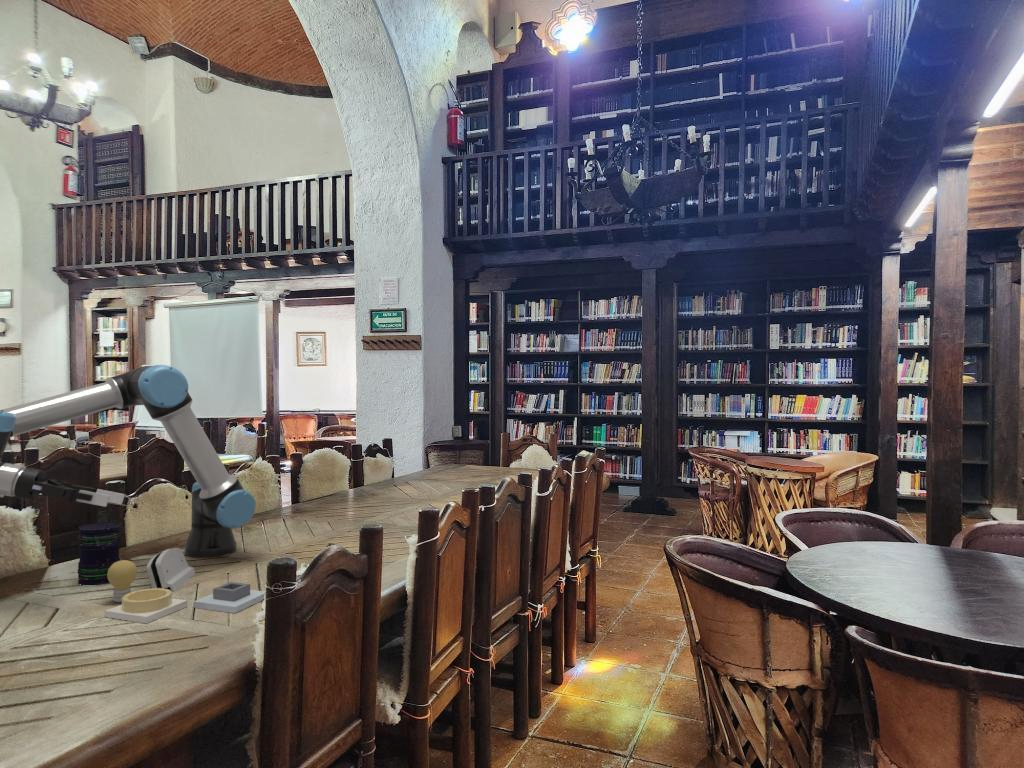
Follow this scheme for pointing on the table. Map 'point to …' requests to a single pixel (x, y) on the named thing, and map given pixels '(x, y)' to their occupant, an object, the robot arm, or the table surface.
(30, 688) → the table surface
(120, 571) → the light bulb
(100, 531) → the storage jar
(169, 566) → the white curved block
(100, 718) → the table surface
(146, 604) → the round socket
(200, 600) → the square socket
